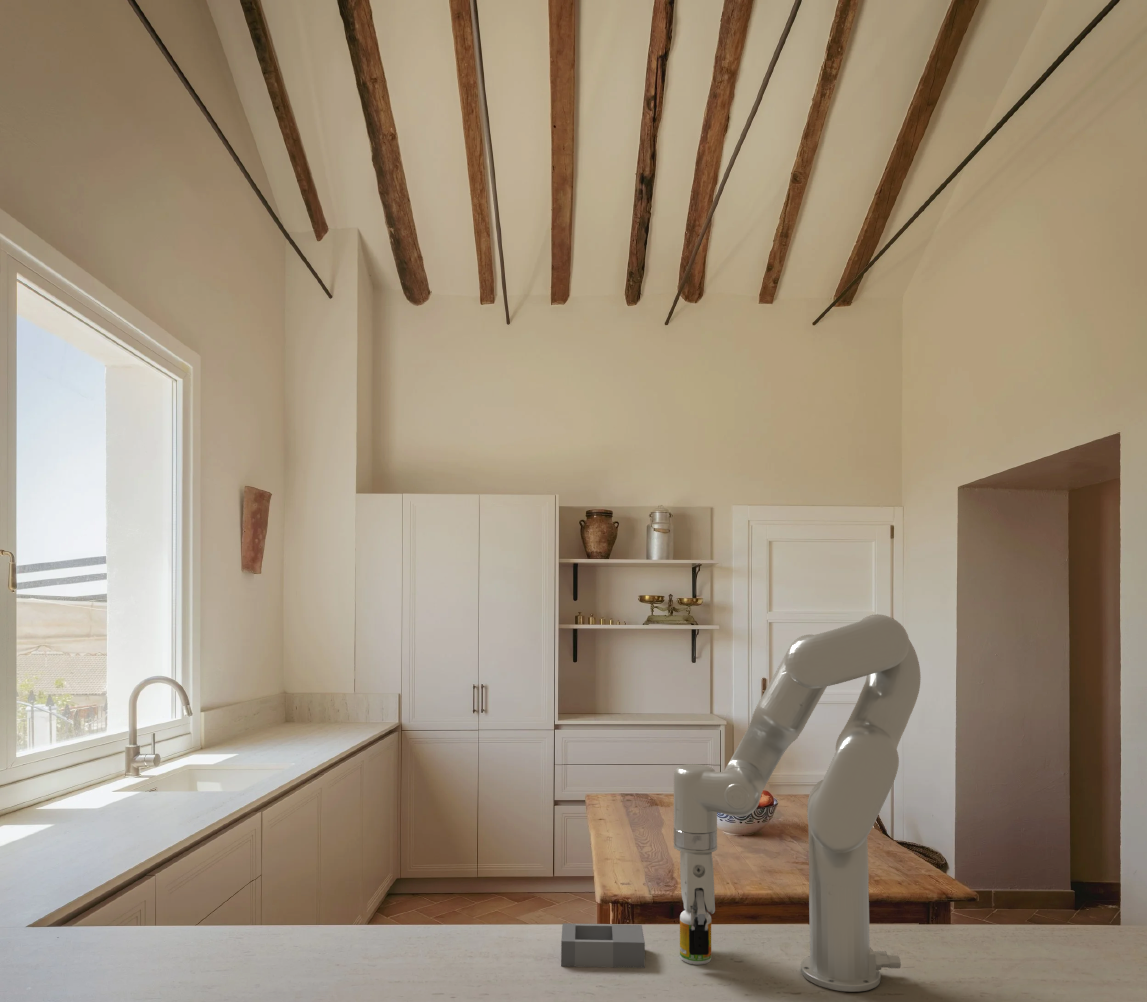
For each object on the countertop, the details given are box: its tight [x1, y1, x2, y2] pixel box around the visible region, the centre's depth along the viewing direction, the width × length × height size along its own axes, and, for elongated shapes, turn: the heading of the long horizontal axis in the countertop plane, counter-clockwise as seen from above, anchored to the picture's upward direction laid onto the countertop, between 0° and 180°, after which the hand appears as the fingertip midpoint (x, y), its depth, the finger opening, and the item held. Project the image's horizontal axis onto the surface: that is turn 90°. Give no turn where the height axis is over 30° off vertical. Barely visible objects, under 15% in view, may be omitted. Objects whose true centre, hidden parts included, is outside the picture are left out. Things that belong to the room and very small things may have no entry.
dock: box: [560, 923, 646, 969], centre depth 153 cm, size 14×8×4 cm, turn 89°
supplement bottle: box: [679, 905, 712, 966], centre depth 153 cm, size 5×5×10 cm
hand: (695, 943), depth 153 cm, fingers open, 8 cm apart
